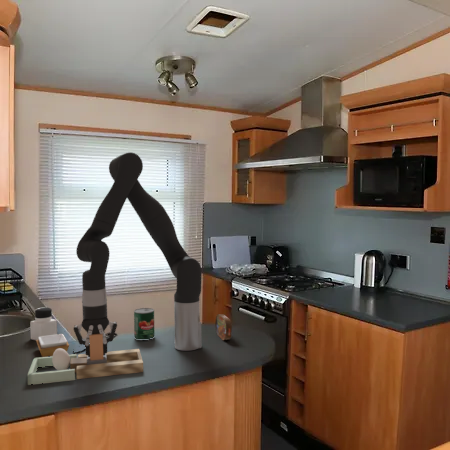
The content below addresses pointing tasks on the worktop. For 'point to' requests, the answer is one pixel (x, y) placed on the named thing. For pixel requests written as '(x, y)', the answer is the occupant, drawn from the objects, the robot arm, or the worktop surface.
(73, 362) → the chip block
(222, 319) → the tin
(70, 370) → the tray
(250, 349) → the worktop surface
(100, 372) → the shallow wooden box
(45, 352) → the soap dish
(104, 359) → the tan block grey base
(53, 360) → the egg
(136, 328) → the canned tomato
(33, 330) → the medicine bottle
